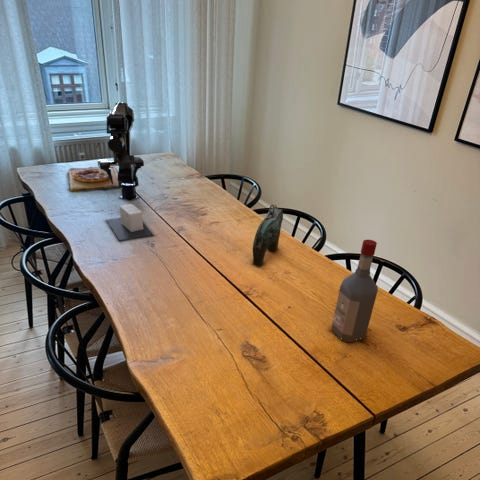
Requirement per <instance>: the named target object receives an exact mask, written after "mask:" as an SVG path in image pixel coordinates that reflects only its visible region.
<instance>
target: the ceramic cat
mask: <svg viewBox="0 0 480 480" xmlns="http://www.w3.org/2000/svg"><path fill="white" fill-rule="evenodd" d="M267 211H268V212H267V214H266V217H265V218H264V219H263V220H262V221H261V222H260V223H259V225H258V227H257V229H256V232H255V235H254V239H253V242H252V259H253V260H252V265H254V266H258V267H261V266H262V265H263V264H264V259H265V256H266V253H267V250H268V251H269V252H276V251H277V250H278V248H279V242H280V236H281V231H282V230H281V229H282V224H283V223H282V222H283V220H284V211H283V209H280V208H278V207H277V205H276V204H270V206H269V209H268V210H267Z"/></svg>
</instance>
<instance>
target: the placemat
mask: <svg viewBox="0 0 480 480" xmlns="http://www.w3.org/2000/svg"><path fill="white" fill-rule="evenodd" d="M106 222H107V224H108V225H109V227H110V228H111V231H112V232H113V233H114V235H115V236H116V238H117V240H118V241H119V242H122V241H124V242H125V241H130V240H136V239H143V238H144V239H145V238H149V237H154V234H153V233H152V231H151V230H150V229H149V228H148V226H146V225H147V224H145V223H144V222H143V230H138V231H134V232H131V231H130V230H128V229H127V228H126V227H125V226H124V225H123V224H122V223H121V217H119V218H111V219H106Z"/></svg>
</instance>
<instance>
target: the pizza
mask: <svg viewBox="0 0 480 480" xmlns="http://www.w3.org/2000/svg"><path fill="white" fill-rule="evenodd" d="M110 169H111V175H112V179H113V184H112V183H111V181H110V179H109V177H108V175H107V173H106V171H103V170H101V169H100V168H99V167H98V166H90V167H81V168H80V167H79V168H77V167H74V168H73V167H72V168H68V172H67V175H68V182H69V186H70V187H69V189H68V190H69V191H70V192H73V193H74V192H77V193H78V192H90V191H105V190H108V189H111V188H116V187H120V186H119V184H118V173H119V170H118V168H117V167H116V166H110Z"/></svg>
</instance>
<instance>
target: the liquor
mask: <svg viewBox="0 0 480 480" xmlns="http://www.w3.org/2000/svg"><path fill="white" fill-rule="evenodd" d="M361 244H362V245H361V248H360V256H359V259H358V263H357V268H356V269H355V272H353V273H351V274H350V275H348V276H346V277H344V278H343V280H342V281H341V283H340V285H339V290H338V296H337V300H336V305H335V310H334V314H333V319H332V324H331V332H332V333H333V334H334V335H335V336H336V337H337V338H338V339H339V340H340V341H342V342H346V343H349V344H350V343H354V342H358V341H363V340H364V339H365V338H366V336H367V332H368V329H369V326H370V322H371V317H372V314H373V310H374V307H375V302H376V299H377V295H378V291H379V289H378V285H377V283H376V282H375V280H374V278H372V276H371V267H372V263H373V258H374V256H375V252H376V249H377V245H378V243H377V241H375V240H373V239H364V240H363V241H362V243H361ZM364 337H365V338H364ZM341 338H342V339H341ZM360 338H361V339H360ZM356 339H357V340H356Z"/></svg>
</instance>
